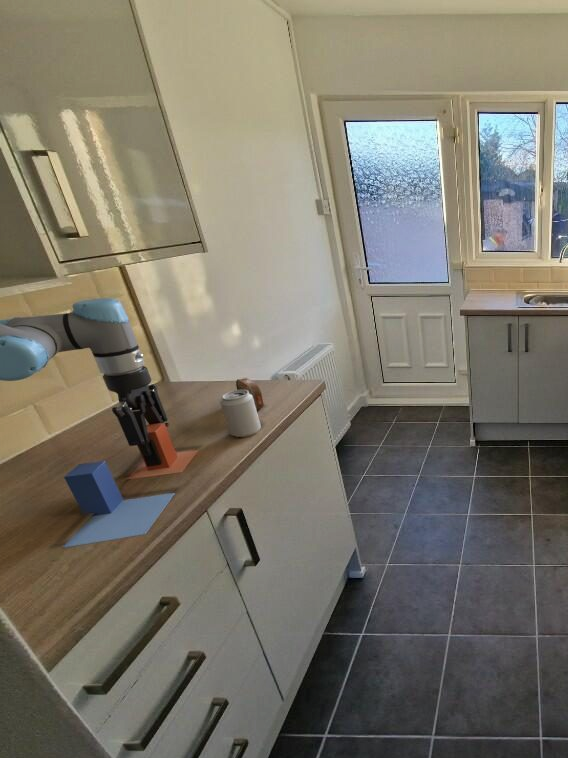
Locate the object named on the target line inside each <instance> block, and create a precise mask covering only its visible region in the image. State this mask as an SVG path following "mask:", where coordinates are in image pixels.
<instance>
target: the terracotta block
mask: <svg viewBox="0 0 568 758" xmlns="http://www.w3.org/2000/svg"><path fill="white" fill-rule="evenodd" d="M165 423H166V422H164V423H158V424H149V423H148V424H146V426H147V430H148V435H149V439H150V440H153V442H154V444H155V447H156V449H157V451H158V454H159V456H160V459H161V461H162V464H161V465H156V466H148V467H147V465H146V462H145V460H144V458H143V455H142V453H141V451H140V449H139V446H138V445H136V446H137V449H138V451H139V454H140V456H141V458H142V460H143V461H144V463H145V465H146V467H147V470H155V469H162V468H169V467H170V466H171V465H172V464H173V463H174V461H175V460H176V459H177V458H178V457H177V454H176V453H177V452H176V449H175V446H174V444H173V442H172V439H171V436H170V434H169V431H168V427H166V426H165Z"/></svg>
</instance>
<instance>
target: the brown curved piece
mask: <svg viewBox="0 0 568 758" xmlns="http://www.w3.org/2000/svg"><path fill="white" fill-rule="evenodd" d="M235 386H236V390H247V391H249V394H251V395H252V396H253V399H254V403H255V407H256V410H257V411H258V410H261V409H264V404H265V403H264V399H263V393H262V390H261V388H260V386H259V385H258V384H257V383H255V382H254V381H252V380H251V379H249V378H247V377H245V378H244V377H243V378H237V379H236V382H235Z"/></svg>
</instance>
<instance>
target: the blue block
mask: <svg viewBox="0 0 568 758" xmlns="http://www.w3.org/2000/svg"><path fill="white" fill-rule="evenodd" d="M63 478H64V481H65V482H66V484H67V486H68V488H69V489H70V491H71V494H72V495H73V497H74V499H75V501H76V503H77V504H78V507H79V509H80V511H81V512H82V515H89V514H92V515H91V516H96V515H103V514H109V513H112V512H113V511H114V510H115V508H116V507H117V506H118V505H119V504H120V503H121V502H122V501H123V500H124V497H123V496H122V494H121V493H122V492H121V491H120V489H119V487H118V485H117V483H116V481H115V478H114V476H113V474H112V472H111V470H110V468H109V466H108V464H107V461H106V460H101V461H94V462H84V463H79V464H77V465H76V466H75V467H74V468H73V469H71V470H70V471H69V472H67V474H65V475H64V476H63Z"/></svg>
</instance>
